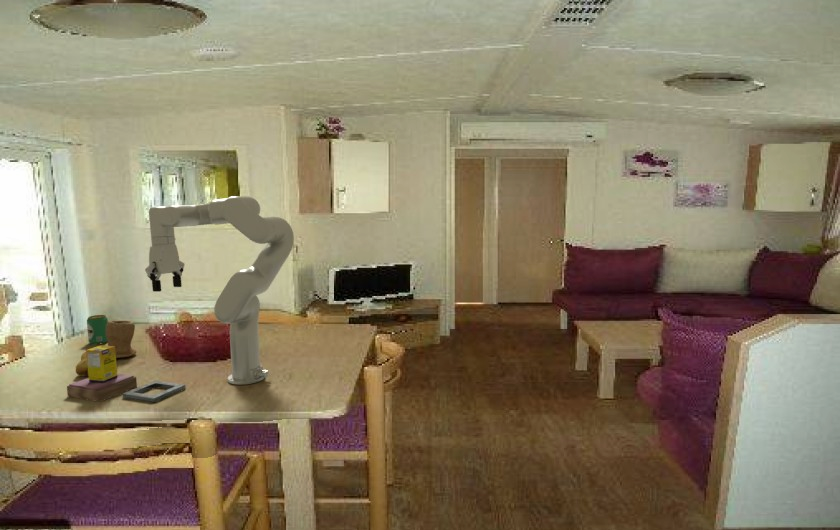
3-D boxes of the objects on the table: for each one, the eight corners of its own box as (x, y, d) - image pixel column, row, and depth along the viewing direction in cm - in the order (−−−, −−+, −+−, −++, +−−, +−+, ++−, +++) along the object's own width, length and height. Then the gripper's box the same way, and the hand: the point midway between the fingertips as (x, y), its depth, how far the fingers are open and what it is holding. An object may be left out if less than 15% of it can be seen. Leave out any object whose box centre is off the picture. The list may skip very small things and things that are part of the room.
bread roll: (121, 370, 195) (119, 349, 194) (104, 379, 186) (102, 357, 185) (88, 370, 196) (86, 349, 195) (69, 378, 186) (67, 357, 185)
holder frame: (185, 388, 175) (185, 384, 174) (154, 403, 162) (153, 398, 162) (155, 384, 179) (155, 380, 179) (122, 398, 167) (122, 393, 166)
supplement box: (118, 377, 175) (115, 345, 173) (103, 383, 169) (100, 350, 168) (103, 376, 176) (100, 344, 175) (88, 382, 170) (85, 349, 169)
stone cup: (143, 352, 219) (140, 317, 217) (127, 360, 207) (124, 324, 205) (107, 352, 219) (104, 317, 217) (89, 361, 207) (86, 324, 205)
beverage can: (85, 343, 234) (83, 317, 232) (104, 339, 240) (102, 313, 239) (93, 345, 229) (91, 319, 228) (112, 341, 236) (110, 315, 234)
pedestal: (136, 386, 177) (136, 375, 176) (99, 401, 164) (98, 389, 163) (106, 382, 182) (105, 371, 181) (67, 396, 168) (66, 384, 168)
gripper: (172, 239, 193) (176, 285, 195) (135, 243, 177) (139, 293, 179) (189, 239, 191) (193, 285, 193) (152, 243, 175) (157, 293, 177)
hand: (167, 289), depth 186 cm, fingers open, 9 cm apart
